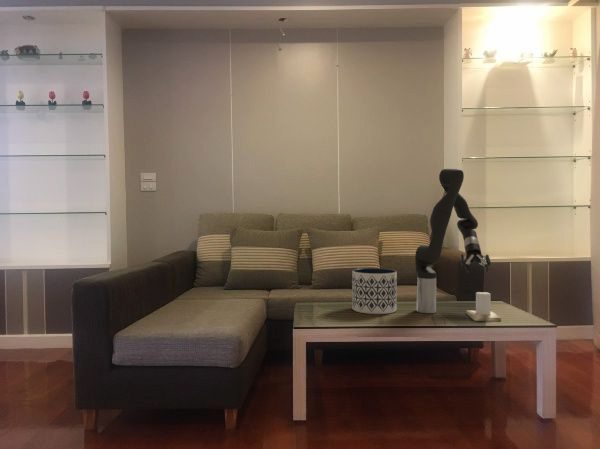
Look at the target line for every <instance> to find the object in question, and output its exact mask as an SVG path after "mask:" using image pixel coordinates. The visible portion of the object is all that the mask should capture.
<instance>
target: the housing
mask: <svg viewBox="0 0 600 449" xmlns="http://www.w3.org/2000/svg"><path fill="white" fill-rule="evenodd" d="M491 296H492V293H490V292H488V291H487V292H486V291H482V292H481V291H476V292H475V311H476V313H477V314H478V315H490V311H492V310H491V305H492V304H491V301H492V300H491V299H492V298H491Z"/></svg>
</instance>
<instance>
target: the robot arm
mask: <svg viewBox="0 0 600 449" xmlns="http://www.w3.org/2000/svg"><path fill="white" fill-rule="evenodd" d="M438 176H439V177H438V179H439V183H440V186H441V187H442V189H443V190H444V192H445V194H444V196H442V198H441V199H440V200H439V201H438V202H437V203H436V204H434V207H433V209H432V212H431V215H430V218H429V223H430V224H429V225H430V229H431V238H430V242H429V244H428V245H425V244H424V245H419V246H418V247H417V248H416V250H415V256H414V257H415V259H414V260H415V261H414V263H415V272H416V276H417V279H416V281H417V282H416V283H417V286H416V288H417V290H416V305H415V306H416V312H417V313H422V314H423V313H424V314H435V313H436V312H437V272H436V271H435V270H433V268H432V266H431V265H436V264H437V263H438V262H439V260H440V259H441V255H442V254H441V253H442V249H443V244H444V240H445V236H446V232H447V228H448V226H449V223H450V219H451V216H452V212H453V209H454V211H455V213H456V216H457V218H459V220H458V221H457V223H456V226H457V228H458V230H459V232H460V233H461V235H462V238H463V244H464V245H463V247H464V250H465V255H464V254H463V253H462V254H460V265H461V267H464V268H465V271H466V272H467V273H468V274H469V273H470V270H471V269H470V264H479V265H481V266H483V269H484V273H485V274H487V273H489V267H490V266H491V264H492V263H491V259H490V255H489V254H486V255H483V254H482V251H481V250H482V249H481V245H480V242H479V238H478V235H477V232H476V229H477V228H478V226H479V222H478V220H477V218H476V217H475V216H474V215H473V213H472V212H471V210H470V207H469V205H468V201H467V200H466V199H465V198H464V197H463V196H462V195H461V193H459V192H460V191H461V188H462V186H463V183H464V176H465V175H464V171H463V170H462V169H459V168H443V169H441V170H440V172H439V175H438ZM465 259H466V262H465Z"/></svg>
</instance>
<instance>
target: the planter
mask: <svg viewBox="0 0 600 449" xmlns="http://www.w3.org/2000/svg"><path fill="white" fill-rule="evenodd" d="M351 272H352V273H351V276H352V277H351V278H352V279H351V284H352V285H351V287H352V288H351V292H352V293H351V296H352V298H351V301H352V302H351V306H352V307H351V308H352V310H354V312H357V313H360V314H367V315H387V314H392V313H395V312H396V311H397V308H398V307H397V303H398V302H397V297H398V296H397V294H398V293H397V292H398V287H397V285H398V284H397V282H398V279H397V278H398V275H397V272H398V271H397V270H395V269H391V268H375V267H374V268H373V267H366V268H365V267H364V268H355V269H353V270H352V271H351Z"/></svg>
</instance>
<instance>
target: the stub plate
mask: <svg viewBox="0 0 600 449" xmlns="http://www.w3.org/2000/svg"><path fill="white" fill-rule="evenodd" d="M465 312H466V313H465V314H466V315H467V316H468V317H470V318H471V319H472V320H473V321H478V322H479V321H481V322H483V321H484V322H485V321H486V322H488V321H489V322H502V317H501V316H499V315H498V314H496V313H495V312H494V311H492V310H490V315H478V314H477V313H476V310H471V309H470V310H469V309H467V310H466V311H465Z"/></svg>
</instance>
